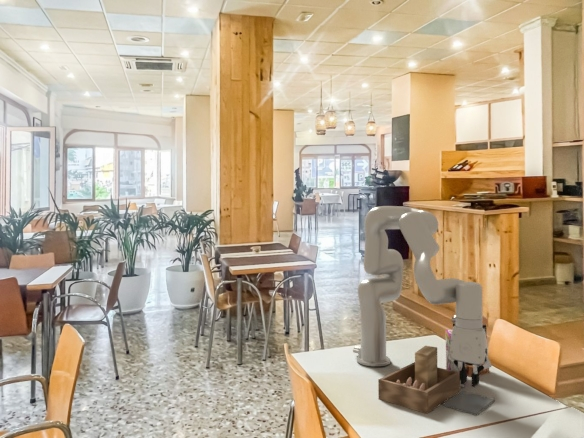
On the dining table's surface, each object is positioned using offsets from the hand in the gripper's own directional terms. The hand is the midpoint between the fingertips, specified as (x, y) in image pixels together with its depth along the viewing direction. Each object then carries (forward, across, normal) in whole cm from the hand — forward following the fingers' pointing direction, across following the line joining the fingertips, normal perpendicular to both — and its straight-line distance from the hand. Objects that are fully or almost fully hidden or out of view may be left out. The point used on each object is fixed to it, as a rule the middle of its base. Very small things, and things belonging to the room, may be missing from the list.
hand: (469, 384), depth 138 cm
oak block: (+6, -14, +1) cm, 16 cm away
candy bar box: (+6, -11, +15) cm, 20 cm away
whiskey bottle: (+6, -11, +28) cm, 30 cm away
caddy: (+6, -14, -4) cm, 16 cm away
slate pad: (+6, 0, 0) cm, 6 cm away
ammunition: (+3, -17, -12) cm, 21 cm away
